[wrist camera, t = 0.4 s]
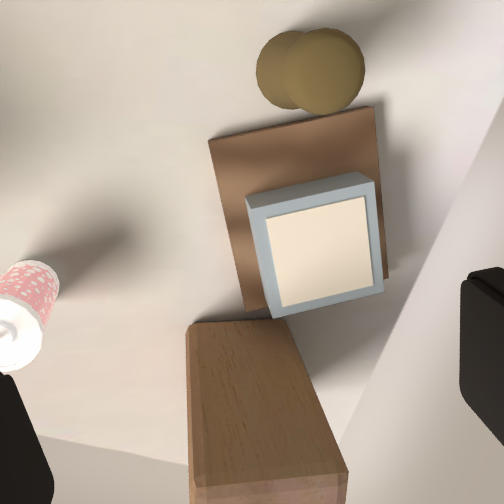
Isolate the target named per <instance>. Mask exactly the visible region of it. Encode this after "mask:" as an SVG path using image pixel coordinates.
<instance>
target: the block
mask: <svg viewBox="0 0 504 504" xmlns="http://www.w3.org/2000/svg"><path fill="white" fill-rule="evenodd" d="M186 374H187V418H188V461H189V497H190V504H345V501H346V491H347V483H348V473H349V472H348V469H347V467H346V464H345V462H344V459H343V457H342V455H341V452H340V450H339V447H338V445H337V443H336V440H335V438H334V435H333V433H332V431H331V428H330V426H329V423H328V421H327V419H326V416H325V414H324V411H323V409H322V407H321V404H320V402H319V400H318V397H317V395H316V392H315V390H314V388H313V385H312V383H311V380H310V378H309V376H308V373H307V371H306V368H305V366H304V364H303V361H302V359H301V356H300V354H299V352H298V349H297V347H296V344H295V342H294V340H293V337H292V335H291V332H290V330H289V328H288V325H287V323H286V321H284V320H281V319H261V320H243V321H226V322H208V323H195V324H192V325H190V326H189V327H188V329H187V332H186Z"/></svg>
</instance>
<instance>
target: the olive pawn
mask: <svg viewBox="0 0 504 504" xmlns="http://www.w3.org/2000/svg"><path fill="white" fill-rule="evenodd" d="M364 75H365V64H364V57H363V55H362V52H361V50H360V48H359V46H358V45H357V44H356V43H355V41H354V40H353V39H352V38H351V37H350V36H349V35H347V34H345V33H343V32H341V31H339V30H337V29H330V28H322V29H318V30H314V31H310V32H309V33H307V34H306V33H303V32H296V31H289V32H284V33H280V34H278V35H277V36H275V37H274V38H272V39H270V40H269V42H268V43H267V44H266V45H265V46H264V48H263V49H262V51H261V53H260V55H259V58H258V60H257V67H256V77H257V82H258V86H259V88H260V90H261V92H262V93H263V95H264V97H265V98H267V99H268V100H269V101H270V102H271V103H272V104H274V105H276V106H278V107H280V108H282V109H292V110H293V109H298V108H301V109H303V110H305V111H307V112H310V113H312V114H319V115H327V114H331V113H336V112H338V111H339V110H341V109H343V108H344V107H346V106H348V105H349V104H350V103H351V102H352V101H353V100H354V99H355V97H356V96H357V95H358V93H359V91H360V89H361V87H362V85H363V81H364Z"/></svg>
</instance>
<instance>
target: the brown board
mask: <svg viewBox="0 0 504 504" xmlns="http://www.w3.org/2000/svg"><path fill="white" fill-rule="evenodd" d="M208 144H209V148H210V153H211V157H212V162H213V166H214V171H215V175H216V180H217V184H218V189H219V193H220V198H221V202H222V207H223V211H224V216H225V220H226V225H227V229H228V234H229V238H230V243H231V247H232V251H233V256H234V260H235V265H236V269H237V274H238V278H239V283H240V287H241V292H242V296H243V301H244V305H245V309H246V312H249V311H253V310H257V309H262V308H266V307H268V304H267V302H266V299H265V295H264V290H263V285H262V280H261V275H260V270H259V265H258V260H257V255H256V250H255V245H254V240H253V235H252V230H251V226H250V221H249V216H248V211H247V206H246V201H245V196H248V195H252V194H257V193H261V192H266V191H270V190H275V189H279V188H284V187H288V186H293V185H297V184H301V183H306V182H310V181H315V180H319V179H324V178H328V177H333V176H337V175H342V174H346V173H350V172H355V171H358V172H359V173H361V174H363V175H364V176H366V177H368V178H369V179H371V180H373V181H374V186H375V196H376V207H377V218H378V228H379V239H380V250H381V261H382V271H383V279H387V278H389V276H388V264H387V253H386V242H385V230H384V219H383V208H382V196H381V185H380V174H379V162H378V151H377V140H376V128H375V117H374V107H369V106H365V107H360V108H356V109H351V110H347V111H342V112H337V113H333V114H328V115H323V116H319V117H314V118H310V119H305V120H300V121H296V122H291V123H286V124H282V125H277V126H273V127H268V128H263V129H259V130H254V131H249V132H245V133H240V134H236V135H231V136H226V137H222V138H217V139H213V140H208Z"/></svg>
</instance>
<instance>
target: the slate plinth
mask: <svg viewBox="0 0 504 504" xmlns="http://www.w3.org/2000/svg"><path fill="white" fill-rule="evenodd" d="M245 201H246V206H247V211H248V216H249V221H250V226H251V230H252V235H253V240H254V245H255V250H256V255H257V260H258V265H259V270H260V275H261V280H262V285H263V290H264V295H265V299H266V302H267V304H268V307H269V310H270V312H271V315H272V318H273V319H274V318H278V317H283V316H287V315H291V314H295V313H299V312H303V311H307V310H312V309H316V308H320V307H324V306H328V305H332V304H337V303H341V302H345V301H349V300H353V299H357V298H361V297H366V296H370V295H374V294H378V293H382V292H384V282H383V271H382V261H381V250H380V239H379V228H378V218H377V207H376V196H375V186H374V181H373V180H371V179H369V178H368V177H366V176H364V175H363V174H361V173H359V172H358V171H355V172H350V173H346V174H342V175H337V176H333V177H328V178H324V179H319V180H315V181H310V182H306V183H301V184H297V185H293V186H288V187H284V188H279V189H275V190H270V191H266V192H261V193H257V194H252V195H248V196H245Z"/></svg>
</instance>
